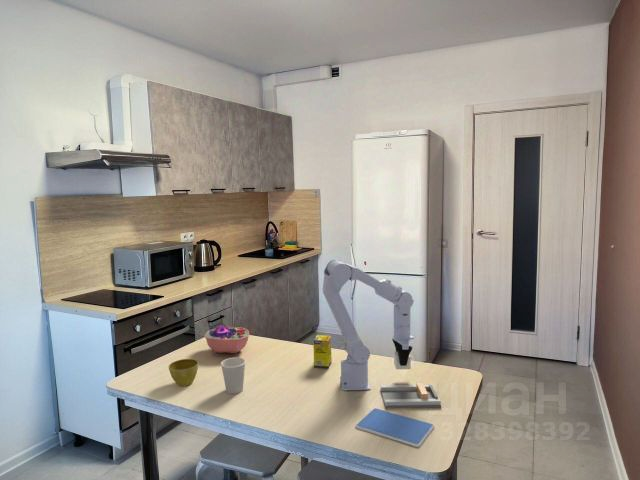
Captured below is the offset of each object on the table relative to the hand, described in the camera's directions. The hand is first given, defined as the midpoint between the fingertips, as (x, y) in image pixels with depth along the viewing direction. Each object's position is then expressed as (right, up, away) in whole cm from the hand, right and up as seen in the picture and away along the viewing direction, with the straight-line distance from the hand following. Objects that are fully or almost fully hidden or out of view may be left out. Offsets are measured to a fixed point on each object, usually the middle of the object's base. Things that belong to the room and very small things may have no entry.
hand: (401, 362), depth 156 cm
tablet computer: (-8, -11, -30) cm, 33 cm away
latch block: (+4, -8, -13) cm, 16 cm away
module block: (0, -2, 0) cm, 2 cm away
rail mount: (0, -8, -13) cm, 15 cm away
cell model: (-67, -5, +32) cm, 75 cm away
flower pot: (-77, -8, +2) cm, 77 cm away
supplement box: (-28, -6, +15) cm, 32 cm away
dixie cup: (-58, -9, -4) cm, 59 cm away
